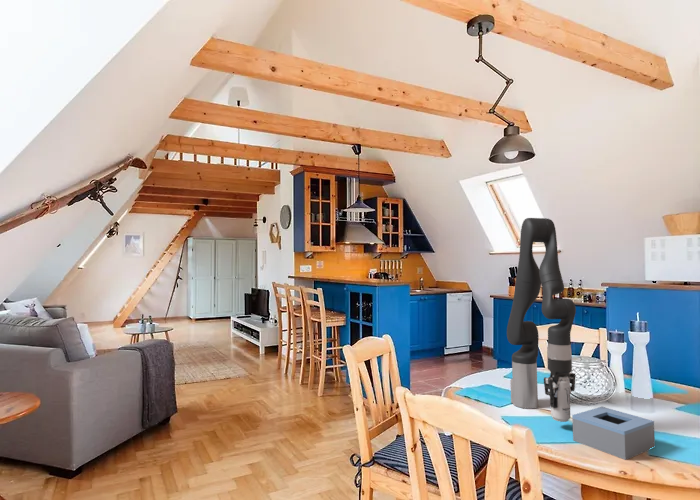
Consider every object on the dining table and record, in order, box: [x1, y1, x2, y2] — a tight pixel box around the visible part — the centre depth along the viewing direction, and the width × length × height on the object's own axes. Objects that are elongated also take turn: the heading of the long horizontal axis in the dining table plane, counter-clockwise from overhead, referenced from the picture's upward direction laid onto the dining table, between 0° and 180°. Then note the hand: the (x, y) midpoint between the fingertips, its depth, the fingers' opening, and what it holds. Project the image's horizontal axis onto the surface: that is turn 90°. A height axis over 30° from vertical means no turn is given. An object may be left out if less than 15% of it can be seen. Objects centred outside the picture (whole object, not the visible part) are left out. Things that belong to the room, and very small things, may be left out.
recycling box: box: [571, 406, 656, 461], centre depth 135 cm, size 16×16×8 cm
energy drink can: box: [550, 375, 571, 423], centre depth 149 cm, size 6×6×15 cm
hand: (560, 405), depth 149 cm, fingers closed on energy drink can, 6 cm apart
